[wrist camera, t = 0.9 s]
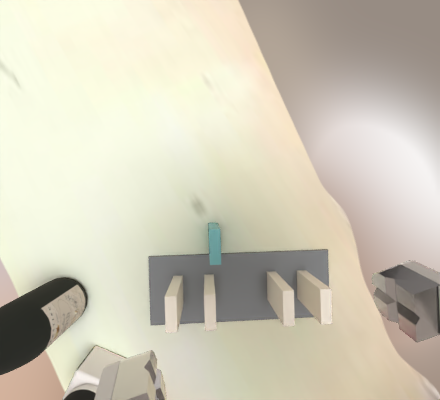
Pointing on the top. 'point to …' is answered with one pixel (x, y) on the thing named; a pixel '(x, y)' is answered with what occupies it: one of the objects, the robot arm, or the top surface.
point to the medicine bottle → (90, 374)
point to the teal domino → (214, 244)
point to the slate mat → (231, 283)
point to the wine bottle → (38, 321)
